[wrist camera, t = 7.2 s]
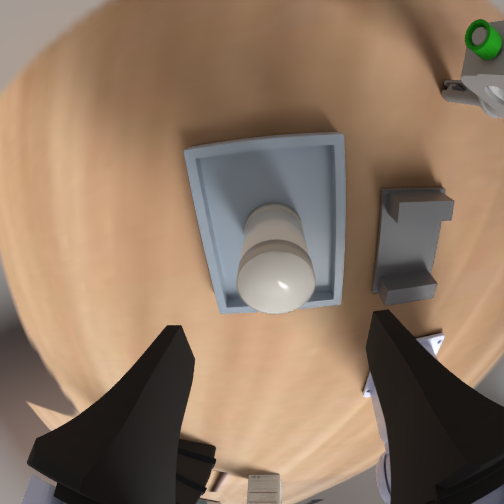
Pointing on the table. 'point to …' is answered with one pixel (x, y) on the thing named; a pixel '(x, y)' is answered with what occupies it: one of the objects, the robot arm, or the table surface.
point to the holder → (409, 242)
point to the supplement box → (264, 489)
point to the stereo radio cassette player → (206, 502)
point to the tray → (271, 190)
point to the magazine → (192, 471)
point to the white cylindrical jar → (275, 261)
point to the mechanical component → (481, 69)
